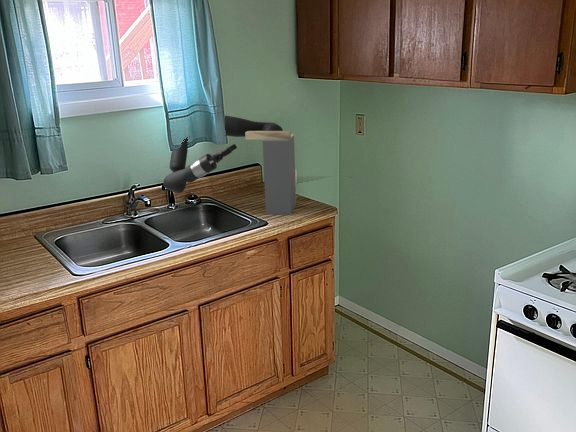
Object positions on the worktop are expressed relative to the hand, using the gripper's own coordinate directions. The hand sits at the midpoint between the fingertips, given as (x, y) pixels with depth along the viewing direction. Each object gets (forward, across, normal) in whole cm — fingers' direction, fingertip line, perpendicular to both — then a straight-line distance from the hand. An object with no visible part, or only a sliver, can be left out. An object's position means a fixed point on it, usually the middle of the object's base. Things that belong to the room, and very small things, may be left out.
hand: (233, 147), depth 254 cm
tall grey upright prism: (+3, +2, +34) cm, 34 cm away
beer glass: (+4, +17, +35) cm, 39 cm away
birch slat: (+15, 0, +4) cm, 16 cm away
